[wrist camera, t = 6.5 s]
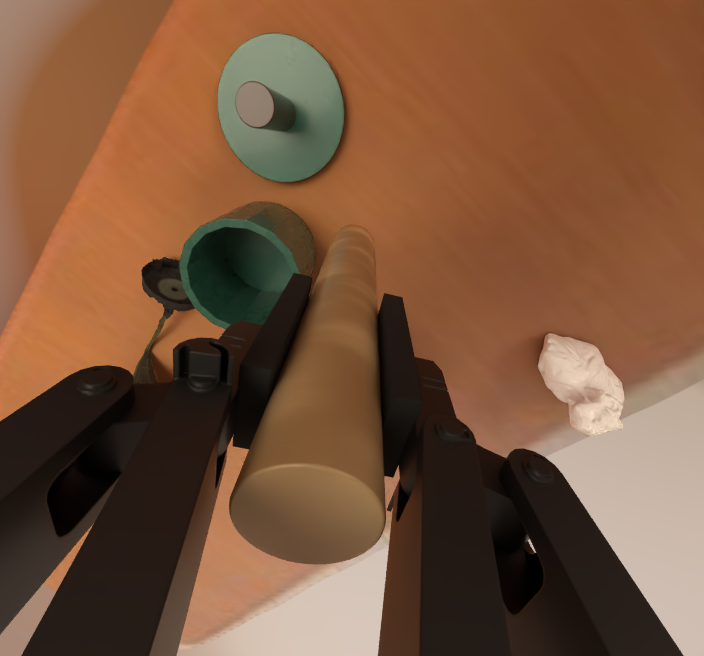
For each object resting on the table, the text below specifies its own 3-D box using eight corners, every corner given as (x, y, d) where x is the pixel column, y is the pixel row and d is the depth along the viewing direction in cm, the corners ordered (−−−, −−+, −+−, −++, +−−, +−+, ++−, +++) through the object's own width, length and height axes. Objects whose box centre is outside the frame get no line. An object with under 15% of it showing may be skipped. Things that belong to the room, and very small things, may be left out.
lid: (348, 41, 30) (340, 2, 22) (341, 185, 35) (333, 197, 27) (215, 32, 30) (157, -10, 22) (228, 176, 35) (186, 186, 27)
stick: (376, 226, 24) (395, 473, 6) (372, 269, 25) (377, 571, 7) (332, 222, 24) (219, 458, 6) (330, 265, 25) (235, 559, 7)
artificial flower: (234, 281, 42) (220, 340, 34) (174, 388, 53) (154, 449, 46) (154, 246, 38) (119, 304, 30) (107, 370, 49) (74, 433, 42)
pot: (316, 205, 36) (300, 223, 28) (315, 298, 41) (301, 338, 33) (216, 197, 36) (169, 214, 28) (226, 291, 41) (189, 329, 33)
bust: (519, 329, 44) (504, 413, 39) (575, 308, 38) (567, 405, 32) (587, 372, 47) (582, 456, 42) (651, 359, 40) (654, 457, 35)
